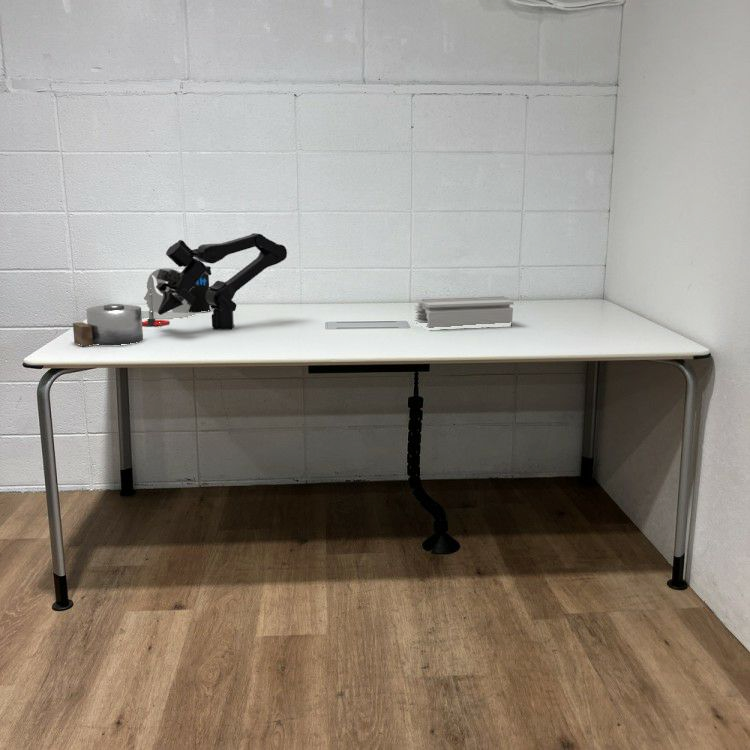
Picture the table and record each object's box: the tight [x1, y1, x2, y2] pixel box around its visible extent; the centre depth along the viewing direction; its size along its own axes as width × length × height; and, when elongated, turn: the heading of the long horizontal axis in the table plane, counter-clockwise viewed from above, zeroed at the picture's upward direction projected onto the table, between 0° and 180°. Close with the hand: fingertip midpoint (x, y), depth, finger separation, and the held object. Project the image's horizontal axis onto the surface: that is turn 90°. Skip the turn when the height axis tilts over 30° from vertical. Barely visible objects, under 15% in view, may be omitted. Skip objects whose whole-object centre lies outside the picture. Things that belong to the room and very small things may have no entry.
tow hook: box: [142, 288, 170, 327], centre depth 273 cm, size 8×13×9 cm
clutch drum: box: [85, 303, 144, 346], centre depth 245 cm, size 16×16×11 cm
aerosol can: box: [189, 257, 211, 313], centre depth 299 cm, size 8×8×20 cm
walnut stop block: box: [72, 321, 94, 347], centre depth 240 cm, size 3×8×6 cm, turn 38°
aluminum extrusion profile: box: [414, 295, 514, 328], centre depth 277 cm, size 14×31×10 cm, turn 106°
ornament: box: [141, 267, 196, 320], centre depth 287 cm, size 22×13×17 cm, turn 82°
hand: (159, 313), depth 253 cm, fingers closed
